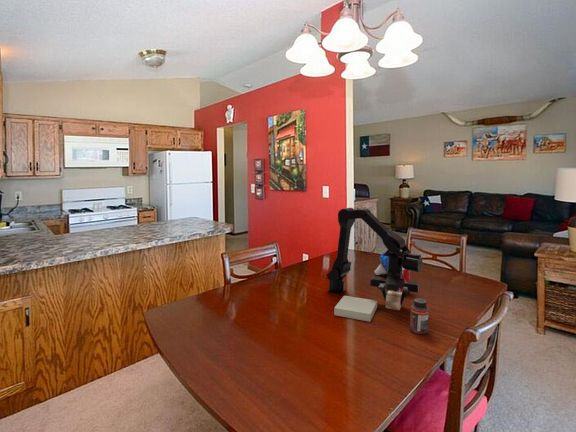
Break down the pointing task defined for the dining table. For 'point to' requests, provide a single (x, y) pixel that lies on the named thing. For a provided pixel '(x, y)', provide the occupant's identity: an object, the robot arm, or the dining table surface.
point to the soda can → (404, 276)
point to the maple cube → (393, 300)
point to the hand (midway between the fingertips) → (393, 303)
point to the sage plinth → (356, 308)
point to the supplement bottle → (419, 317)
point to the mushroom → (382, 265)
